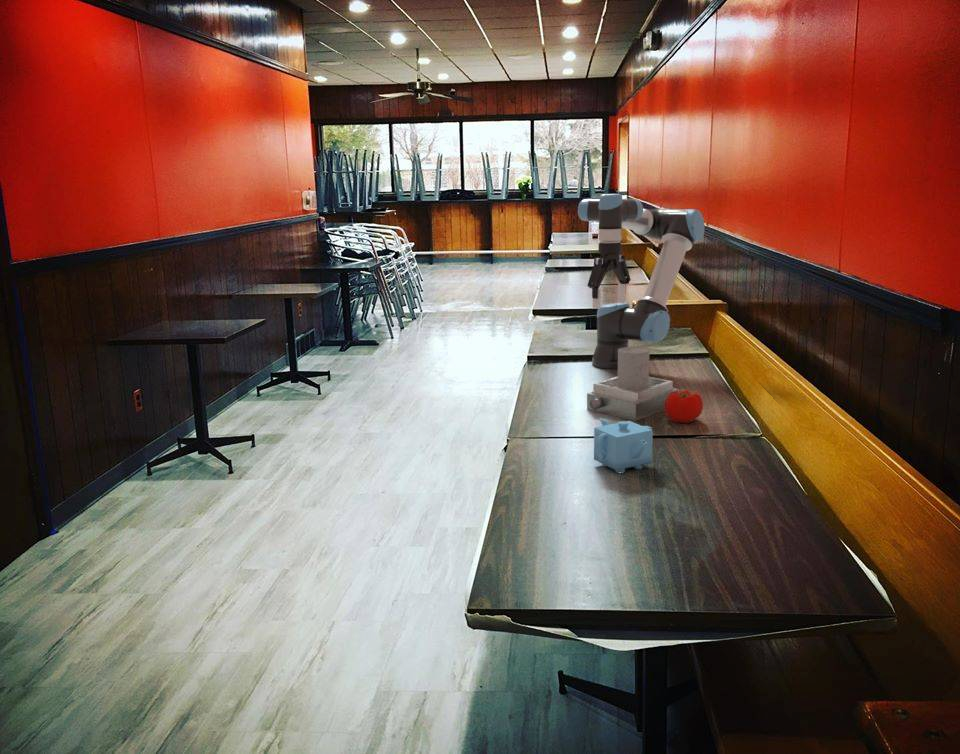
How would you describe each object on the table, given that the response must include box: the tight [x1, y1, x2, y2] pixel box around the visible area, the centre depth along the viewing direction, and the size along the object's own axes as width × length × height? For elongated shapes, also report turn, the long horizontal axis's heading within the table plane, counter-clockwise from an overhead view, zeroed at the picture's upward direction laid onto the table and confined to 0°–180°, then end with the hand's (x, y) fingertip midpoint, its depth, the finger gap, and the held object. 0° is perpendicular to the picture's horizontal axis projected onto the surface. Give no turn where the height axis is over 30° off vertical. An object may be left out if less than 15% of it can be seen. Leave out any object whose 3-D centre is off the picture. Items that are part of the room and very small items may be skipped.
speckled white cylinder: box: [617, 346, 651, 391], centre depth 242 cm, size 10×10×12 cm
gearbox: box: [586, 375, 679, 421], centre depth 243 cm, size 25×18×8 cm
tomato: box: [664, 389, 704, 424], centre depth 229 cm, size 11×11×9 cm
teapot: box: [593, 417, 653, 474], centre depth 195 cm, size 16×18×11 cm
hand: (609, 305), depth 268 cm, fingers open, 13 cm apart
